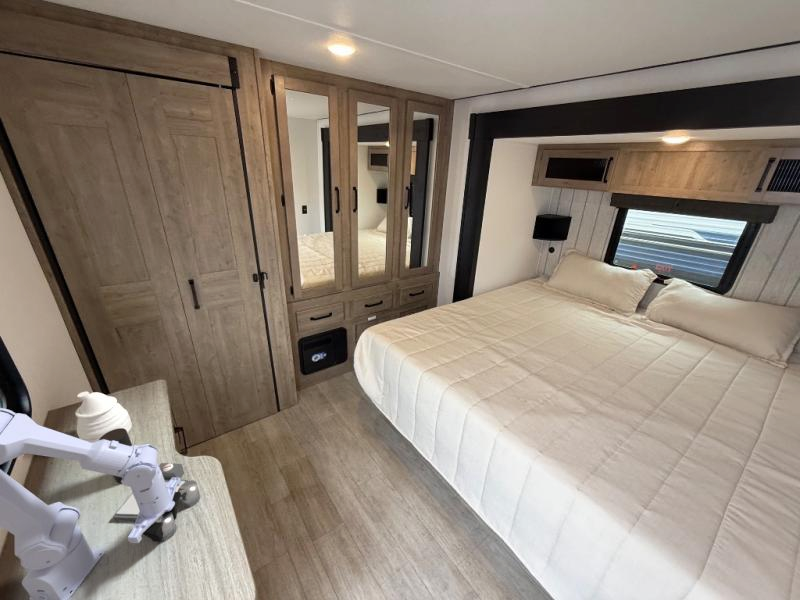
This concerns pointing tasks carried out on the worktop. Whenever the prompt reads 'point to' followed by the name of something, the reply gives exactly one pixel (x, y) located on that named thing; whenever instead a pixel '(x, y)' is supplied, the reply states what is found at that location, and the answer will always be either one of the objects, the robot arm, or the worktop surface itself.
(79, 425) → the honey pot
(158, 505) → the robot arm
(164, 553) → the worktop surface
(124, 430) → the deodorant
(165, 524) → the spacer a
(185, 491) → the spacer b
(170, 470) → the scale
